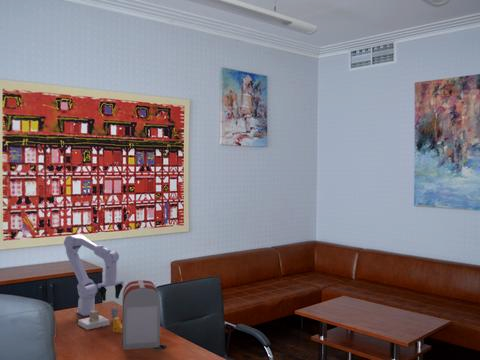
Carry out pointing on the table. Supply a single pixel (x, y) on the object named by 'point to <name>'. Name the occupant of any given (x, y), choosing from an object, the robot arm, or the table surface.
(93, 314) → the square peg
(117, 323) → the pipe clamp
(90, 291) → the robot arm
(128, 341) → the grey arched box
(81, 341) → the table surface
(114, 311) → the round peg
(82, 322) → the socket block
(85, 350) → the table surface
